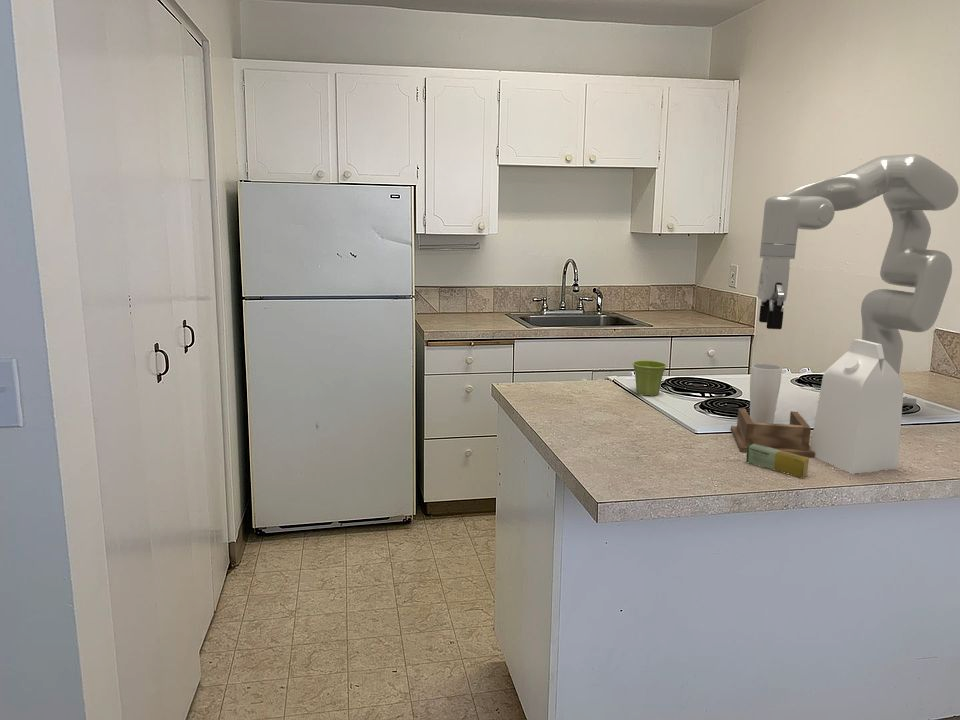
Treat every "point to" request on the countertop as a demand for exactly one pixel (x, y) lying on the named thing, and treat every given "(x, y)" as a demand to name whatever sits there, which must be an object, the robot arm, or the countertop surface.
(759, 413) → the drinking glass
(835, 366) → the milk
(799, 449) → the wooden open tray
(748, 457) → the medication box
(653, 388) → the plant pot
